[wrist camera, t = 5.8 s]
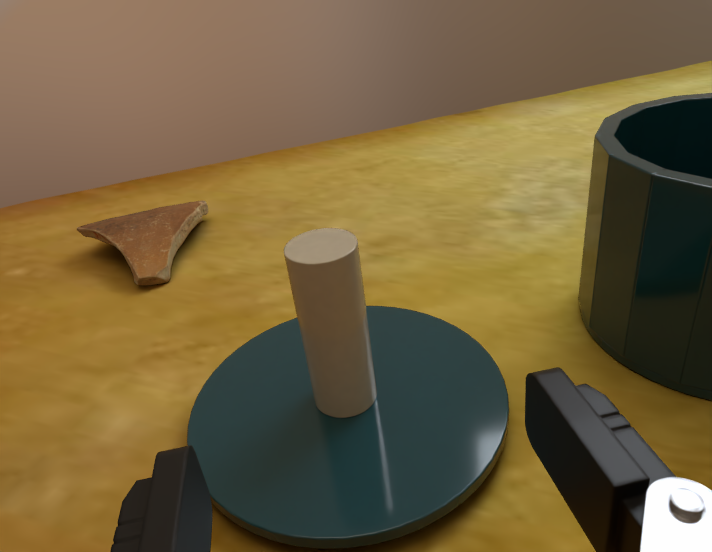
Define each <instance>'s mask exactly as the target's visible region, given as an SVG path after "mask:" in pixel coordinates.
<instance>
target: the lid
mask: <svg viewBox="0 0 712 552" xmlns="http://www.w3.org/2000/svg"><path fill="white" fill-rule="evenodd" d="M284 256H285V261H286V266H287V270H288V275H289V280H290V285H291V290H292V295H293V299H294V304H295V309H296V314H297V318H295V319H292V320H289V321H287V322H284V323H281V324H279V325H277V326H275V327H273V328H271V329H269V330H267V331H265V332H263V333H261V334H259V335H258V336H256V337H254V338H253V339H251V340H249V341H248V342H247V343H245V344H244V345H242V346H241V347H239V348H238V349H237V350H236V351H235V352H233V353H232V354H231V355H230V356H229V357H227V358H226V359H225V360H224V361H223V362H222V363H221V364H220V365H219V367H218V368H217V369H216V370H215V371H214V372H213V373H212V375H211V376H210V377H209V379H208V380H207V381H206V383H205V384H204V386H203V388H202V389H201V391H200V393H199V394H198V396H197V398H196V401H195V403H194V406H193V408H192V411H191V415H190V420H189V424H188V434H187V445H188V446H190V445H191V446H193V448H194V450H195V452H196V455H197V458H198V461H199V464H200V467H201V470H202V473H203V475H204V478H205V481H206V484H207V487H208V490H209V493H210V498H211V502H212V503H213V504H214V505H215V507H216V508H217V509H218V510H219V511H221V512H222V513H223V514H224V515H225V516H227V517H228V518H229V519H230V520H232V521H233V522H234V523H236V524H238V525H240V526H241V527H243V528H245V529H247V530H248V531H250V532H252V533H254V534H257V535H259V536H262V537H265V538H267V539H270V540H272V541H276V542H280V543H284V544H289V545H293V546H298V547H308V548H318V549H338V548H353V547H360V546H367V545H373V544H378V543H381V542H385V541H389V540H392V539H396V538H399V537H402V536H405V535H407V534H409V533H412V532H414V531H417V530H419V529H422V528H424V527H426V526H428V525H429V524H431V523H433V522H435V521H437V520H438V519H440V518H442V517H444V516H445V515H447V514H448V513H449V512H451V511H452V510H453V509H455V508H456V507H457V506H459V505H460V504H462V503H463V502H464V501H465V500H466V499H467V498H468V497H469V496H470V495H471V494H472V493H473V492H474V491H475V490H476V489H477V488H478V487H479V486H480V485H481V484H482V483H483V481H484V480H485V478H486V477H487V476H488V474H489V473H490V472H491V470H492V469H493V467H494V465H495V463H496V461H497V460H498V458H499V456H500V454H501V452H502V449H503V445H504V442H505V439H506V436H507V429H508V421H509V402H508V393H507V389H506V385H505V381H504V379H503V377H502V374H501V372H500V370H499V368H498V366H497V365H496V363H495V362H494V360H493V359H492V357H491V356H490V354H489V353H488V352H487V351H486V350H485V349H484V348H483V347H482V346H481V345H480V344H479V343H478V342H477V341H476V340H475V339H473V338H472V337H471V336H470V335H468V334H467V333H465V332H464V331H462V330H461V329H459V328H457V327H456V326H454V325H452V324H450V323H448V322H446V321H444V320H441V319H439V318H436V317H433V316H430V315H428V314H424V313H421V312H417V311H413V310H408V309H402V308H396V307H385V306H366V302H365V294H364V286H363V279H362V271H361V263H360V256H359V248H358V241H357V238H356V236H355V235H354V234H352V233H351V232H349V231H346V230H343V229H337V228H323V229H316V230H311V231H308V232H305V233H302V234H300V235H298V236H296V237H294V238H293V239H291V240H290V241H289V242H288V243H287V244H286V246H285V248H284Z"/></svg>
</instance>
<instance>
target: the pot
mask: <svg viewBox="0 0 712 552" xmlns="http://www.w3.org/2000/svg"><path fill="white" fill-rule="evenodd" d="M578 298H579V302H580V312H581V316H582V320H583V322H584V324H585V326H586V328H587V330H588V332H589V333H590V334H591V336H592V337H593V338H594V340H595V341H596V342H597V343H598V344H599V345H600V346H601V347H602V348H603V349H604V350H605V351H606V352H607V353H608V354H610V355H611V356H612V357H613V358H615V359H616V360H617V361H619V362H620V363H622V364H623V365H625V366H626V367H628V368H629V369H631V370H633V371H635V372H636V373H638V374H640V375H642V376H644V377H646V378H648V379H650V380H652V381H654V382H657V383H659V384H661V385H664V386H666V387H668V388H671V389H674V390H677V391H680V392H683V393H686V394H689V395H692V396H696V397H700V398H703V399H707V400H711V401H712V93H706V94H694V95H682V96H673V97H668V98H663V99H659V100H654V101H649V102H645V103H640V104H635V105H632V106H630V107H628V108H626V109H624V110H621V111H619V112H617V113H615V114H613V115H611V116H609V117H607V118H605V119H604V120H603V122H602V124H601V126H600V128H599V129H598V131H597V133H596V135H595V139H594V149H593V159H592V169H591V178H590V188H589V198H588V208H587V218H586V228H585V238H584V248H583V258H582V268H581V277H580V287H579V297H578Z"/></svg>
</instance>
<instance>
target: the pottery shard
mask: <svg viewBox="0 0 712 552" xmlns="http://www.w3.org/2000/svg"><path fill="white" fill-rule="evenodd" d="M207 213H208V206H207V203H206V202H205V201H196V202H189V203H184V204H178V205H172V206H165V207H159V208H155V209H152V210H148V211H143V212H139V213H134V214H129V215H125V216H120V217H115V218H110V219H106V220H102V221H99V222H95V223H91V224H87V225H84V226H81V227H78V228H77V231H79V232H80V233H81V234H82V235H83V236H85V237H92V238H95V239H98V240H100V241H102V242H105V243H108V244H110V245H113V246H115V247H116V248H117V249H118V250H120V251H121V253H122V254H123V256H124V257H125V259H126V261H127V263H128V265H129V266H130V269H131V271H132V274H133V276H134V282H135V283H136V284H138V285H146V286H147V285H153V284H161V283H166V282H167V281H169V280H170V271H171V266H172V261H173V258H174V256H175V254H176V251H177V250H178V248H179V247H180V246H181V245H182V243H183V242H184V240H185V239H186V237H187V236H188V234H189V233H190V231H191V230H192V229H193V228H194V227H195V226H196V224H197V223H199V222H201V221H202V216H203V215H206V214H207Z"/></svg>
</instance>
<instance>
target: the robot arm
mask: <svg viewBox="0 0 712 552" xmlns="http://www.w3.org/2000/svg"><path fill="white" fill-rule="evenodd" d="M525 426H526V431H527V435H528V438H529V441H530V443H531V445H532V447H533V449H534V451H535V452H536V454H537V456H538V457H539V459H540V460H541V462H542V464H543V465H544V467H545V469H546V470H547V472H548V474H549V475H550V477H551V478H552V480H553V482H554V483H555V485H556V487H557V488H558V490H559V492H560V493H561V495H562V496H563V498H564V500H565V501H566V503H567V505H568V506H569V508H570V510H571V511H572V513H573V515H574V516H575V518H576V519H577V521H578V523H579V524H580V526H581V528H582V529H583V531H584V533H585V534H586V536H587V537H588V539H589V541H590V542H591V544H592V546H593V547H594V549H595V551H596V552H712V491H711V490H710V489H709V488H707V487H705V486H704V485H702V484H700V483H697V482H695V481H692V480H689V479H685V478H679V477H676V476H675V475H674V474H673V473H672V472H671V471H670V469H669V468H668V467H667V466H666V465H665V464H664V463H663V461H662V460H661V459H660V458H659V457H658V456H657V454H656V453H655V452H654V451H653V450H652V449H651V447H650V446H649V445H648V444H647V443H646V442H645V441H644V439H643V438H642V437H641V436H640V435H639V434H638V432H637V431H636V430H635V429H634V428H631V426H630V423H629V422H628V421H627V420H626V419H625V417H624V416H623V415H620V413H619V410H618V409H617V408H616V407H615V406H614V405H613V403H612V402H611V401H610V400H609V399H608V398H607V397H606V396H605V395H604V394H602V393H600V392H599V391H597V390H595V389H594V388H592V387H590V386H589V385H587V384H582V385H577V386H575V385H574V383H573V382H572V381H571V380H570V379H569V377H568V376H567V375H566V374H565V372H564V371H563V370H562V369H561V368H558V367H557V368H552V369H547V370H542V371H538V372H533V373H529V374H528V375H527V377H526V398H525ZM211 533H212V504H211V498H210V493H209V490H208V487H207V484H206V481H205V478H204V475H203V473H202V470H201V467H200V464H199V461H198V458H197V455H196V452H195V450H194V448H193V446H191V445H190V446H185V447H181V448H176V449H171V450H166V451H161V452H158V453H157V455H156V459H155V464H154V469H153V474H152V478H147V479H142V480H138V481H136V482H135V484H134V485H133V487H132V488H131V490H130V491H129V493H128V494H127V496H126V497H125V499H124V500H123V502H122V506H121V510H120V514H119V519H118V527H116V531H115V535H114V539H113V541H114V544H113V545H112V547H111V552H210V548H211Z"/></svg>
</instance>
